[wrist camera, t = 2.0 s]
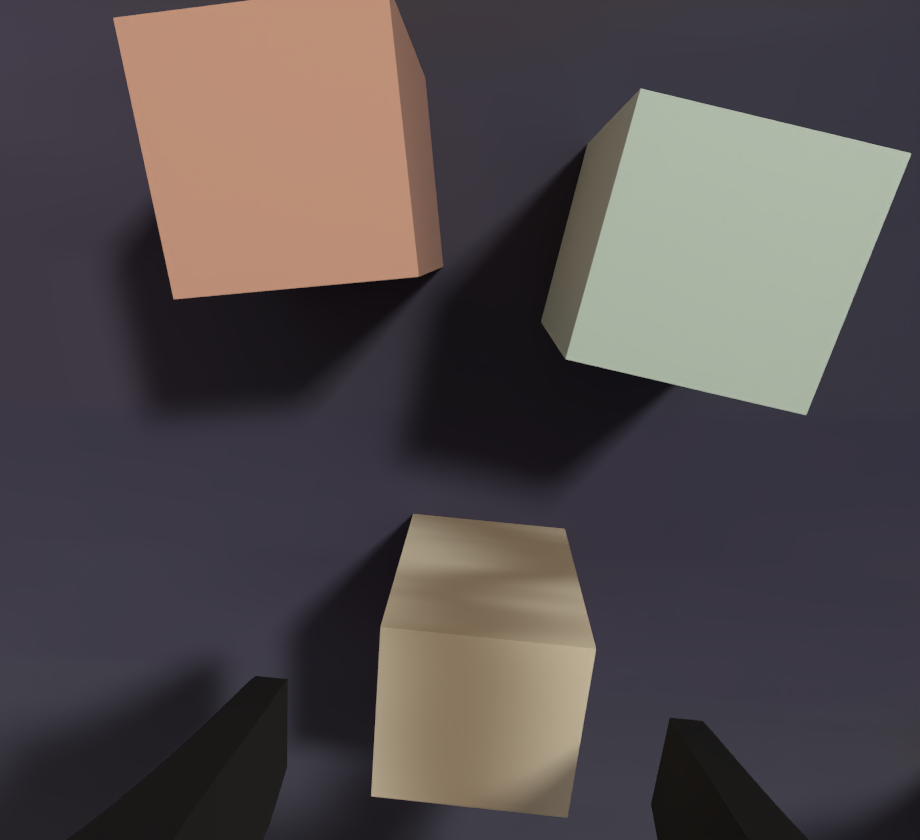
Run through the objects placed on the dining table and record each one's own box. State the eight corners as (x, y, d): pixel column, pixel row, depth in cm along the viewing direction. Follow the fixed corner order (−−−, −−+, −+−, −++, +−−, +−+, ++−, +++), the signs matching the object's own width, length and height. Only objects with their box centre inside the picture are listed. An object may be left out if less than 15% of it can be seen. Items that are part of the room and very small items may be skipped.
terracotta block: (425, 77, 13) (388, -18, 8) (443, 266, 14) (419, 276, 10) (246, 98, 14) (113, 17, 9) (277, 281, 15) (173, 299, 10)
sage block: (761, 185, 14) (911, 153, 9) (702, 359, 15) (806, 415, 10) (587, 144, 13) (640, 88, 9) (540, 321, 15) (565, 358, 10)
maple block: (564, 528, 16) (596, 648, 11) (545, 657, 17) (567, 817, 12) (413, 513, 16) (380, 627, 11) (404, 643, 17) (371, 796, 12)
